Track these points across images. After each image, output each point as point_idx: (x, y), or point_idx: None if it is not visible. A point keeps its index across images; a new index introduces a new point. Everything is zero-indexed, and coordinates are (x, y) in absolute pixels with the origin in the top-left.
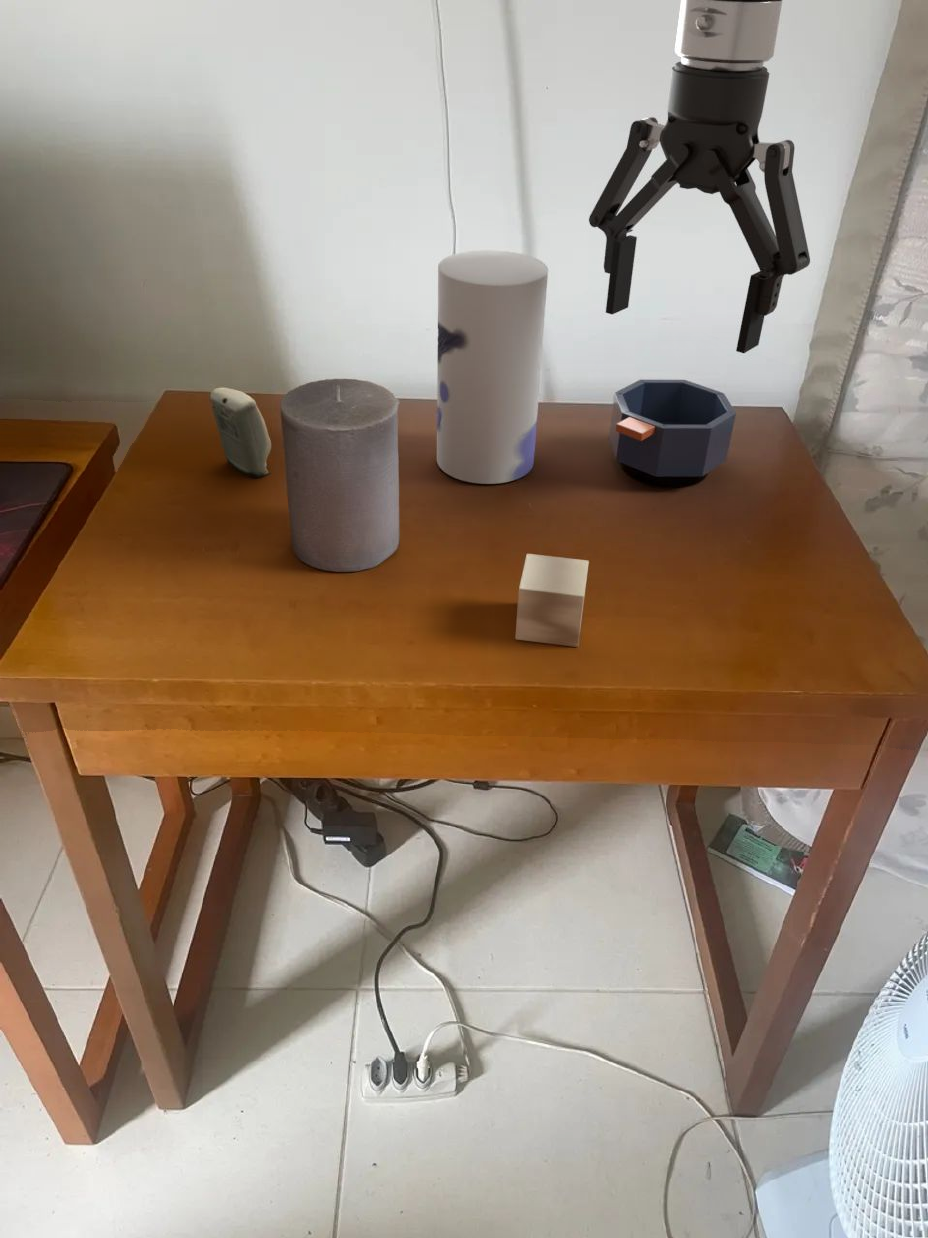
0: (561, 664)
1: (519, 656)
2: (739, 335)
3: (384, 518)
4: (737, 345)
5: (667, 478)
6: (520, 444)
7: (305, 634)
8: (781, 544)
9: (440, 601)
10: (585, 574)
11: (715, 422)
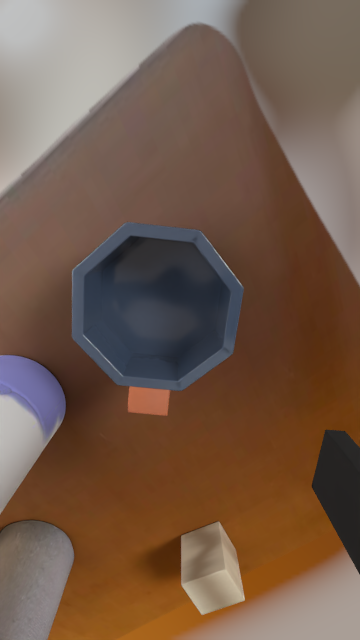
0: None
1: None
2: (329, 517)
3: (59, 596)
4: (318, 497)
5: None
6: (48, 436)
7: (95, 616)
8: (319, 361)
9: (135, 559)
10: (233, 583)
11: (230, 334)
